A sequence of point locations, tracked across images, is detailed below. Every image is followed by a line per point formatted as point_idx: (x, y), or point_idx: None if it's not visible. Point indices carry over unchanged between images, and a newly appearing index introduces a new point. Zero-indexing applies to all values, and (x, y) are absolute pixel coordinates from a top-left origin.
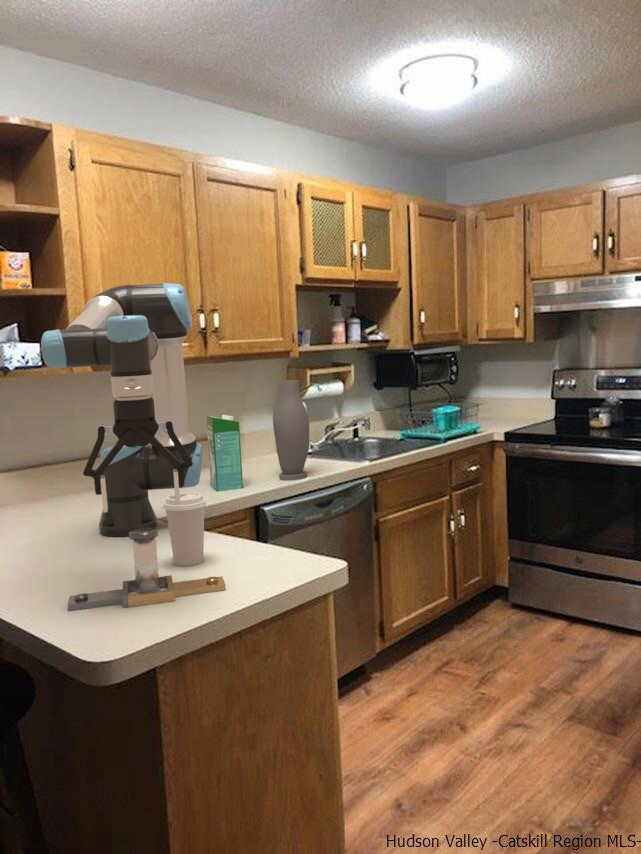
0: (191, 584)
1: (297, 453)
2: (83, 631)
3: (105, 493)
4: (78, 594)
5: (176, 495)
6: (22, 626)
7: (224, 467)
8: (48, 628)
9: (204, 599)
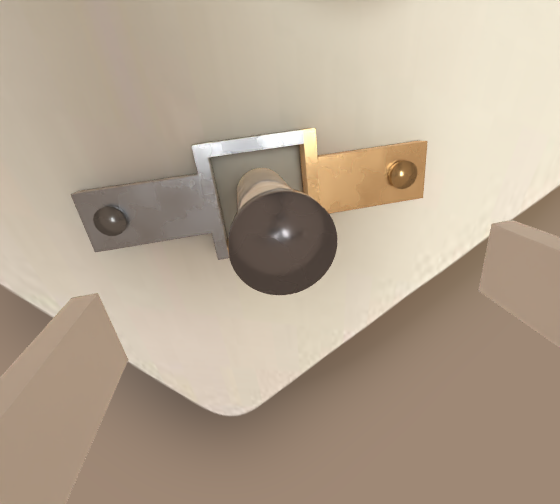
0: (356, 182)
1: None
2: (174, 338)
3: (75, 478)
4: (99, 213)
5: (527, 319)
6: (38, 306)
7: None
8: None
9: (370, 236)
